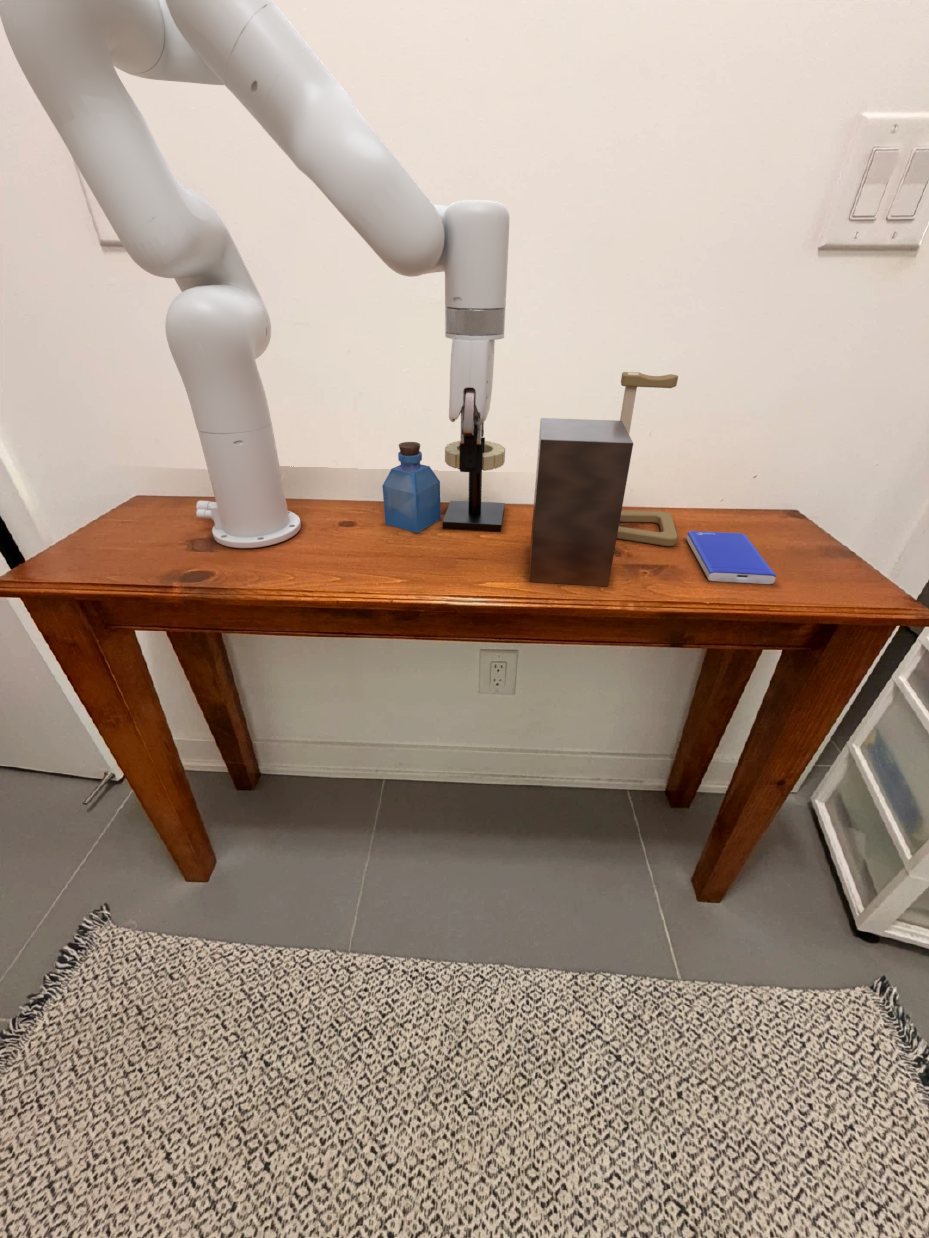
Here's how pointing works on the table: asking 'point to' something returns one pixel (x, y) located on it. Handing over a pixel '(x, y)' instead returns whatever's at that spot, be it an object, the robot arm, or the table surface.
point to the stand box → (578, 500)
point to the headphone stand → (631, 383)
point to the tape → (491, 455)
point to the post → (474, 510)
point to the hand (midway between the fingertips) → (471, 467)
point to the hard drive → (729, 558)
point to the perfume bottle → (411, 492)
